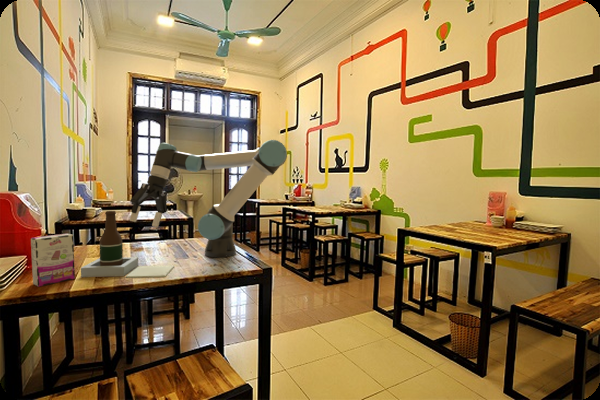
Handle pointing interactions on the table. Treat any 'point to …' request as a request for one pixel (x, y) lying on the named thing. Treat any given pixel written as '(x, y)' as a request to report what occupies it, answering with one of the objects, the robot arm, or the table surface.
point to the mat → (150, 271)
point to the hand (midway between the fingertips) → (144, 224)
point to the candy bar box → (52, 259)
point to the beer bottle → (111, 243)
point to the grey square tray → (109, 268)
